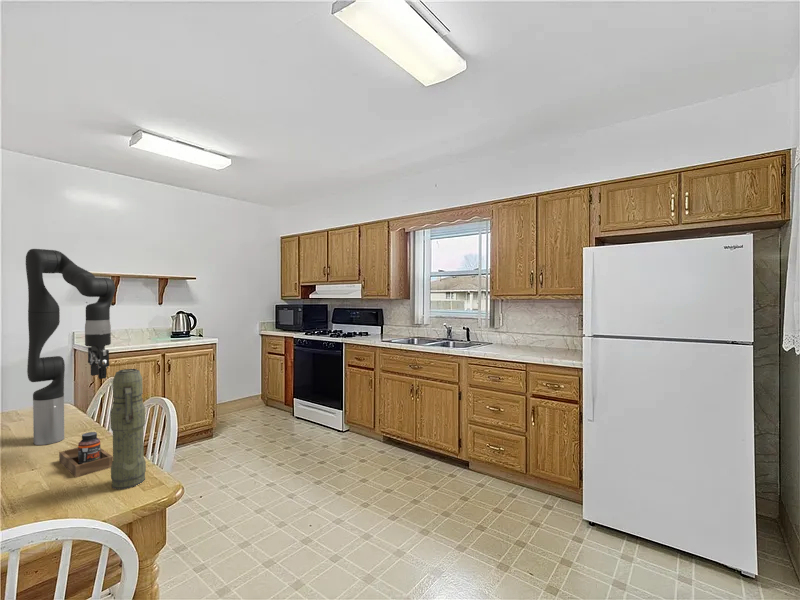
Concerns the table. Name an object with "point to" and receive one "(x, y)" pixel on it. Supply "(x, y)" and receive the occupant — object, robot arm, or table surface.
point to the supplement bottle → (88, 448)
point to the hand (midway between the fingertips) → (98, 376)
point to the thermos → (127, 430)
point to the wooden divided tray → (71, 463)
